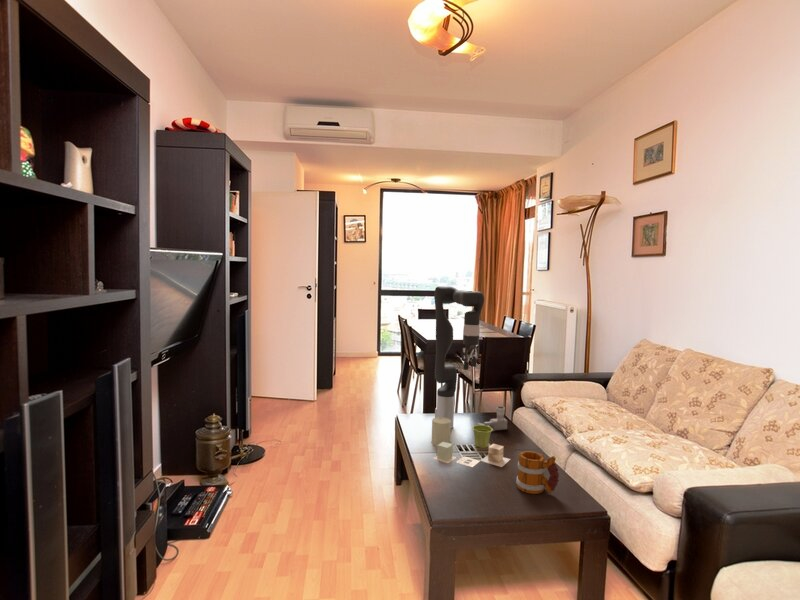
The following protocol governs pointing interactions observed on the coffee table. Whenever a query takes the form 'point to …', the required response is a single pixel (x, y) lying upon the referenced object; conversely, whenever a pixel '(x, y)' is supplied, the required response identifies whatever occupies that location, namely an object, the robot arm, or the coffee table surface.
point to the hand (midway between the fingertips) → (469, 368)
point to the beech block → (495, 453)
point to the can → (440, 430)
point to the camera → (497, 420)
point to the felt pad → (495, 462)
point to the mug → (536, 473)
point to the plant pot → (482, 435)
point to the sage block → (444, 451)
